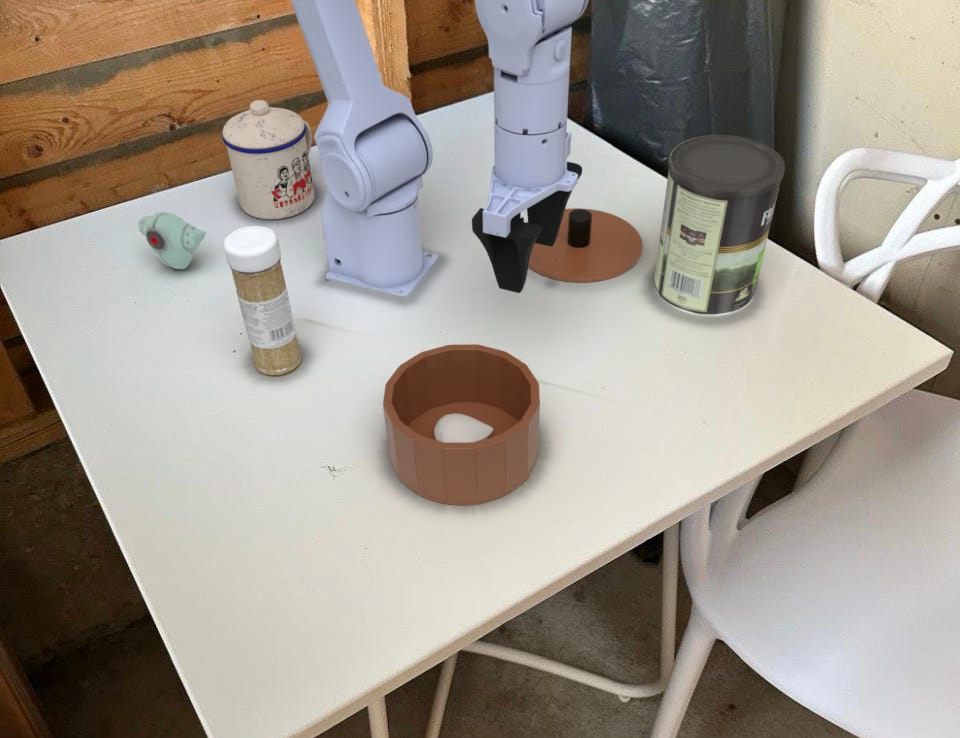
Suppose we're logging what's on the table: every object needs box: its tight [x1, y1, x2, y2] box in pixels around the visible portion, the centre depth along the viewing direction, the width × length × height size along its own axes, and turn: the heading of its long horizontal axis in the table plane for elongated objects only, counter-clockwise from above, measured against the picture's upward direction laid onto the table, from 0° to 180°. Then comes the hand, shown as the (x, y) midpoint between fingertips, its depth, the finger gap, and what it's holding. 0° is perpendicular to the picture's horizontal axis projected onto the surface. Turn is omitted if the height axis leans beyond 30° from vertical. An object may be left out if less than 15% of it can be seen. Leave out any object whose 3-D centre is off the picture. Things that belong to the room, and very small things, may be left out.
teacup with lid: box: [221, 99, 316, 220], centre depth 104 cm, size 12×9×12 cm
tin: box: [382, 343, 541, 506], centre depth 76 cm, size 12×12×6 cm
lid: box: [526, 207, 643, 284], centre depth 97 cm, size 13×13×4 cm
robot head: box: [137, 211, 207, 270], centre depth 96 cm, size 8×4×7 cm, turn 65°
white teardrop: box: [434, 413, 493, 443], centre depth 77 cm, size 4×5×2 cm
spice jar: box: [222, 225, 303, 376], centre depth 82 cm, size 5×5×13 cm
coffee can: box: [653, 134, 786, 317], centre depth 89 cm, size 10×10×14 cm
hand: (527, 265), depth 82 cm, fingers open, 7 cm apart
